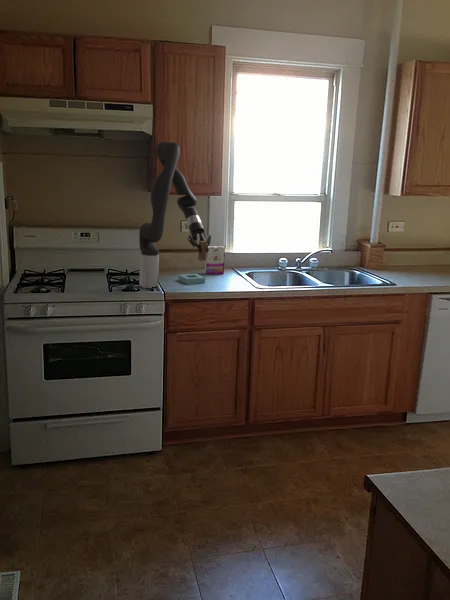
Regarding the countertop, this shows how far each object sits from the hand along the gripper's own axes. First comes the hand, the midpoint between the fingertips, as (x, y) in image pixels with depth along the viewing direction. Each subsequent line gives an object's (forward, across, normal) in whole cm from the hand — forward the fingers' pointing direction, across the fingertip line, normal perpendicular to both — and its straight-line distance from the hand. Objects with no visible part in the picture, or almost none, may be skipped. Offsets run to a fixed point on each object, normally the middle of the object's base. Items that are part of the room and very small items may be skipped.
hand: (204, 251), depth 295 cm
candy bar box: (-11, +25, +39) cm, 47 cm away
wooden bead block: (+1, +2, +27) cm, 27 cm away
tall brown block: (+2, 0, +5) cm, 5 cm away
